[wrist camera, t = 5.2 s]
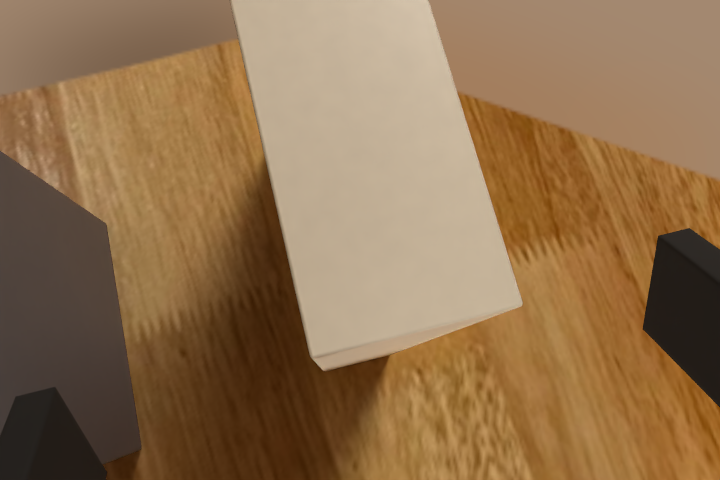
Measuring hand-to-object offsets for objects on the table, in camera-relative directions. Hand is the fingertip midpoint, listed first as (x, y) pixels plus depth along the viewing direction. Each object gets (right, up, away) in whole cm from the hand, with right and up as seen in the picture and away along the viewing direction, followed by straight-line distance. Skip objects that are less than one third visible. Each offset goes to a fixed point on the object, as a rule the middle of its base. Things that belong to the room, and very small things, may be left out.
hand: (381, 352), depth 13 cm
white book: (-2, +2, +14) cm, 14 cm away
